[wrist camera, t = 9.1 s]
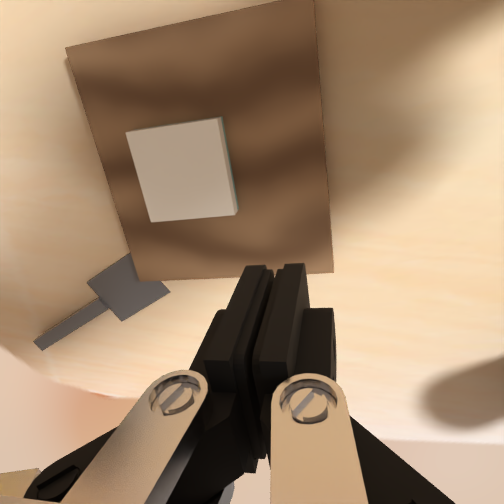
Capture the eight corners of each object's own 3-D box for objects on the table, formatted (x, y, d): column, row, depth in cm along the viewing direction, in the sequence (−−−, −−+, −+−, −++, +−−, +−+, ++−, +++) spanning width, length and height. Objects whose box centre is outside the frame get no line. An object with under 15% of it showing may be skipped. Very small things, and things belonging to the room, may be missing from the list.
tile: (222, 116, 31) (134, 129, 33) (217, 118, 30) (125, 132, 31) (238, 208, 34) (158, 216, 36) (234, 215, 33) (150, 222, 35)
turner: (25, 324, 47) (20, 328, 46) (138, 246, 41) (135, 249, 40) (59, 357, 49) (54, 363, 48) (173, 288, 42) (170, 292, 41)
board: (75, 48, 32) (64, 47, 31) (313, -4, 27) (312, -7, 26) (146, 274, 41) (139, 281, 40) (333, 265, 37) (333, 272, 35)
